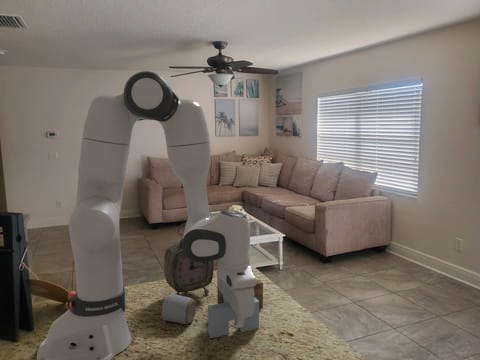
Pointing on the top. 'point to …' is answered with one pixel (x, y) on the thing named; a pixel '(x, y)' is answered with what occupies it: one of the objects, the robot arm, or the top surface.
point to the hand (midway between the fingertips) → (233, 317)
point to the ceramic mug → (178, 309)
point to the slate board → (224, 313)
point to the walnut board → (257, 293)
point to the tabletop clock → (186, 270)
